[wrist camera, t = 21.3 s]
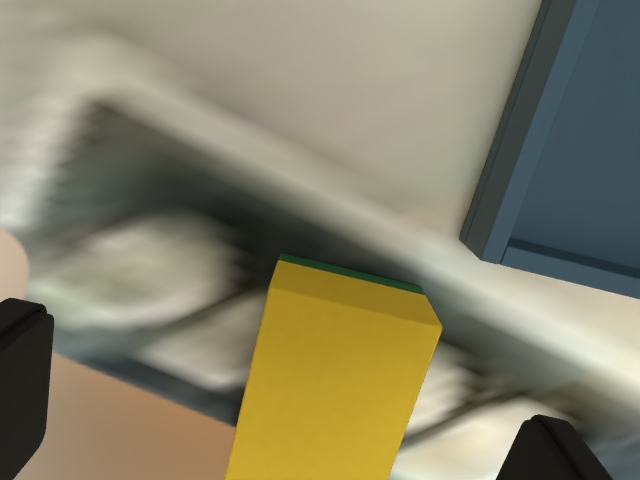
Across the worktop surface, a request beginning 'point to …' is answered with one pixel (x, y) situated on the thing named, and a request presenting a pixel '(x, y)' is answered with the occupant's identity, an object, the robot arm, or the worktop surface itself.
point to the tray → (568, 153)
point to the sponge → (332, 375)
